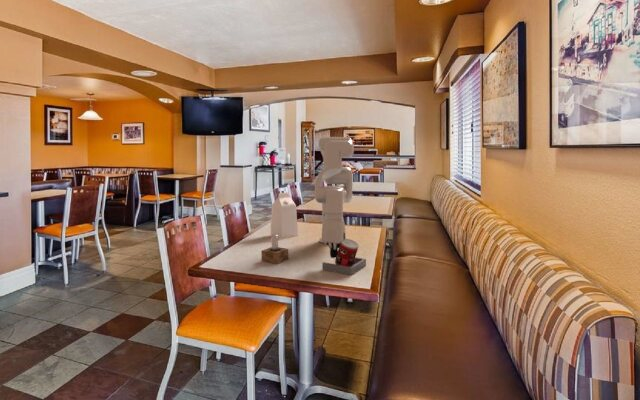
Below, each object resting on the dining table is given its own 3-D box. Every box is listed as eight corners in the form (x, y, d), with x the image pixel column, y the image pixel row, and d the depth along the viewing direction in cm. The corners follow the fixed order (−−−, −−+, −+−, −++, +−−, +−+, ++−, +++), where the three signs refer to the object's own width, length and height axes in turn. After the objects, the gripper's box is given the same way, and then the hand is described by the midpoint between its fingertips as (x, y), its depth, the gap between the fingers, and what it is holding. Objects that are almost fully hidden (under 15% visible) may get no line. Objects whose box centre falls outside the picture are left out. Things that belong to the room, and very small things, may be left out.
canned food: (334, 258, 167) (340, 237, 163) (351, 262, 167) (357, 241, 164) (334, 267, 160) (341, 245, 156) (352, 271, 160) (359, 249, 156)
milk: (286, 232, 232) (285, 191, 229) (297, 235, 224) (297, 193, 220) (270, 235, 224) (269, 192, 220) (281, 238, 216) (281, 194, 212)
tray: (338, 260, 173) (338, 254, 173) (365, 265, 166) (366, 259, 166) (322, 269, 161) (322, 262, 160) (351, 275, 154) (351, 268, 153)
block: (273, 256, 180) (273, 246, 179) (288, 259, 176) (288, 248, 175) (261, 261, 172) (261, 250, 172) (277, 264, 168) (276, 253, 167)
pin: (274, 258, 176) (273, 234, 175) (279, 259, 175) (279, 234, 173) (270, 260, 174) (270, 235, 172) (275, 261, 172) (275, 236, 171)
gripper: (315, 216, 163) (315, 256, 165) (345, 219, 156) (344, 261, 158) (323, 214, 170) (323, 253, 172) (353, 216, 162) (352, 257, 164)
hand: (333, 257), depth 165 cm, fingers closed
